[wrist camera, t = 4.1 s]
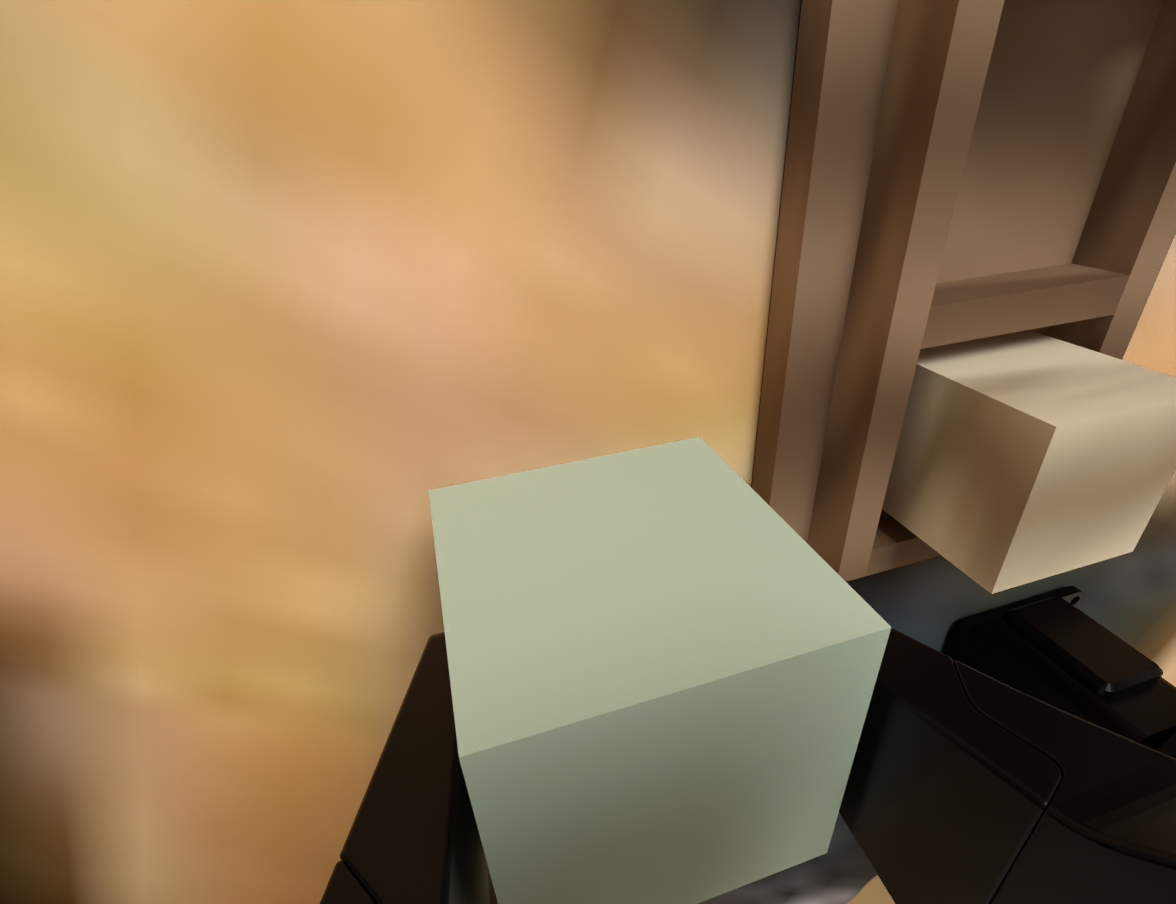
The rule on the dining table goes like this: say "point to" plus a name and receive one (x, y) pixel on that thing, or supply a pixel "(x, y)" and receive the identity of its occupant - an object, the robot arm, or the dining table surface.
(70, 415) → the dining table surface
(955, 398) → the maple block
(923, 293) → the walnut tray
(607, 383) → the dining table surface
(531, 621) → the sage block
